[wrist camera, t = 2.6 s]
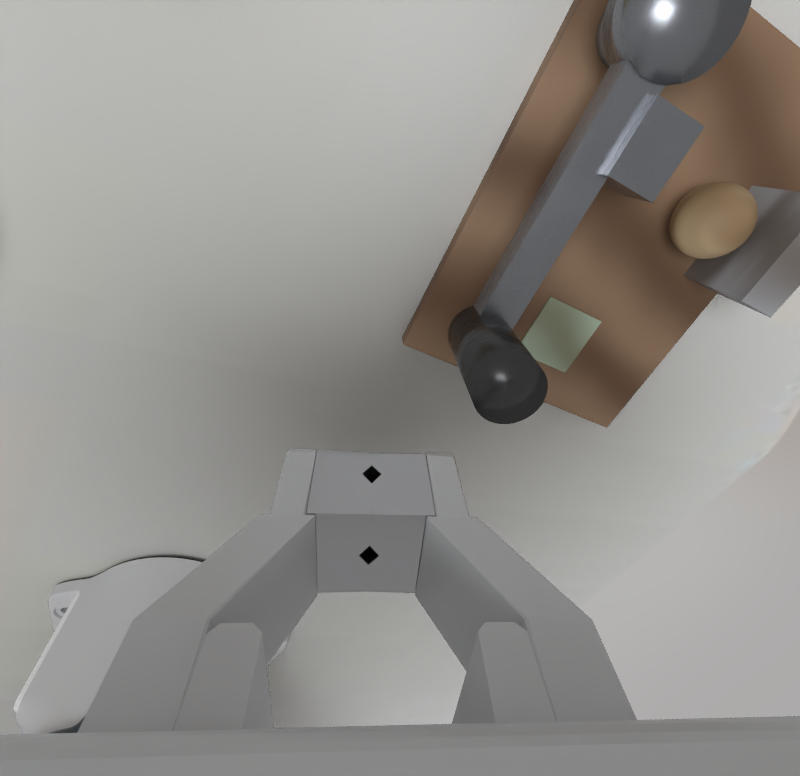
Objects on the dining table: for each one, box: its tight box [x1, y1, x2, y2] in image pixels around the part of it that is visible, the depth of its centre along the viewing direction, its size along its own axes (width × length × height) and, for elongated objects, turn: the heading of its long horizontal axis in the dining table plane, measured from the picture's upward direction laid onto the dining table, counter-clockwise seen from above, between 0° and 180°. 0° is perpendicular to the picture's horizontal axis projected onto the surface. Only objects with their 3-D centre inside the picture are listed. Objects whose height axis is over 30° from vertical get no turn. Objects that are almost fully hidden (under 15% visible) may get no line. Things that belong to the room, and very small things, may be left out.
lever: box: [448, 0, 752, 424], centre depth 17 cm, size 18×5×6 cm, turn 154°
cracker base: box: [402, 0, 800, 427], centre depth 22 cm, size 20×15×5 cm
